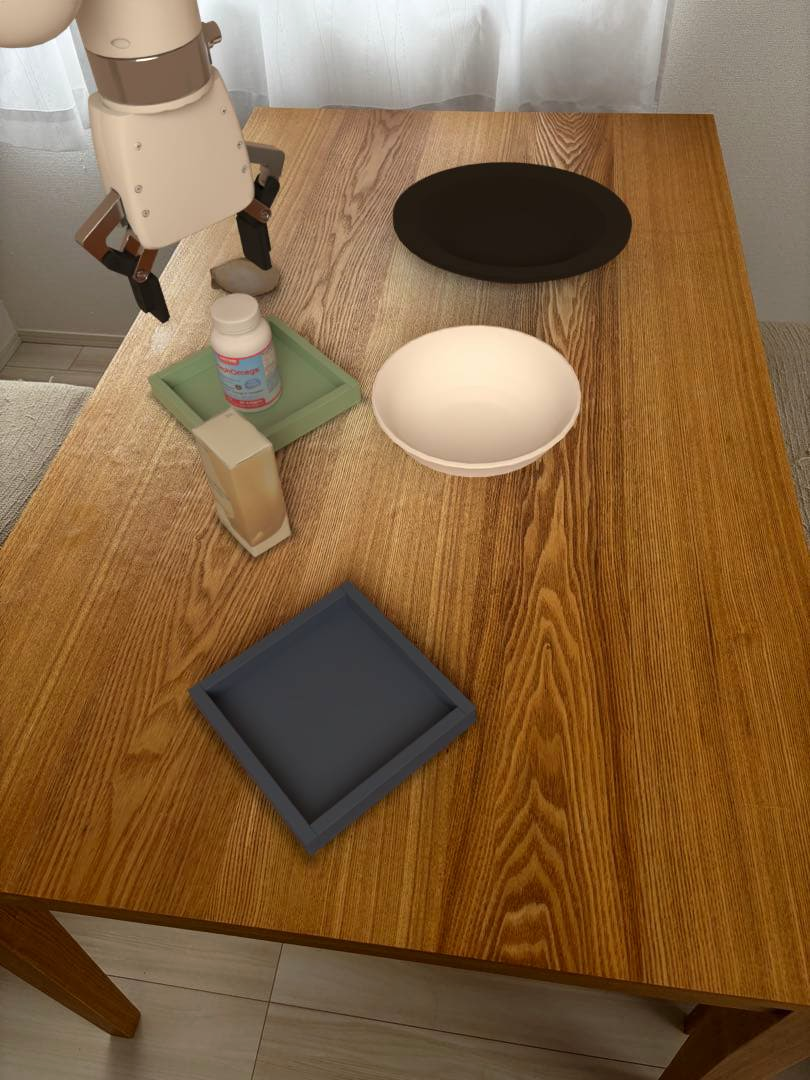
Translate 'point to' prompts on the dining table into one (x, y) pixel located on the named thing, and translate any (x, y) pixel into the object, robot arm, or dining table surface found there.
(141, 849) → the dining table surface
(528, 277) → the plate
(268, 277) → the seashell
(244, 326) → the pill bottle
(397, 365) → the bowl
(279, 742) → the slate tray
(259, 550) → the cosmetic box
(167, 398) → the sage tray
